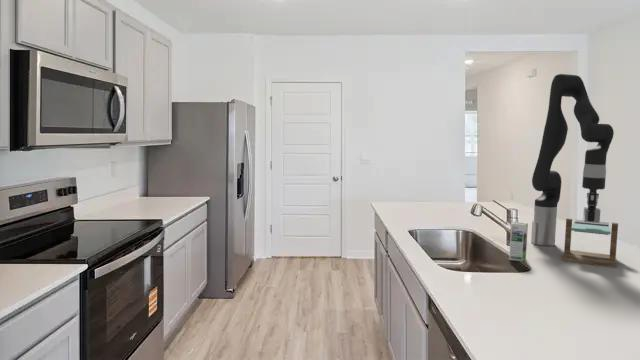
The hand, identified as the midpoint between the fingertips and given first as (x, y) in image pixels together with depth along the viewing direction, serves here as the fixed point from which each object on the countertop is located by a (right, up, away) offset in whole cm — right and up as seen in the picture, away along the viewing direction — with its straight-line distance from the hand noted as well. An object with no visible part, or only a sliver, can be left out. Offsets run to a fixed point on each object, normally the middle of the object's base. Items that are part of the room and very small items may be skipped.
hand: (591, 219), depth 182 cm
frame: (+2, -16, +5) cm, 17 cm away
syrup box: (-27, -16, +2) cm, 32 cm away
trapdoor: (+3, -6, +6) cm, 9 cm away
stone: (0, -1, 0) cm, 1 cm away
